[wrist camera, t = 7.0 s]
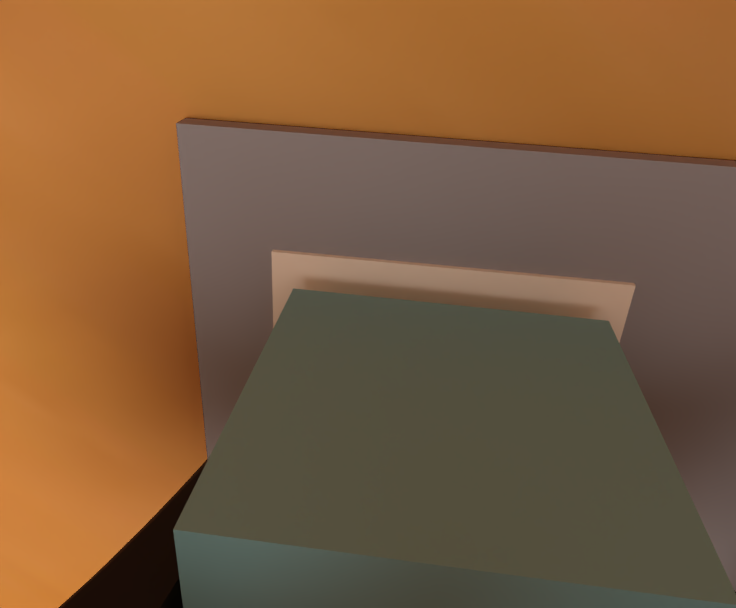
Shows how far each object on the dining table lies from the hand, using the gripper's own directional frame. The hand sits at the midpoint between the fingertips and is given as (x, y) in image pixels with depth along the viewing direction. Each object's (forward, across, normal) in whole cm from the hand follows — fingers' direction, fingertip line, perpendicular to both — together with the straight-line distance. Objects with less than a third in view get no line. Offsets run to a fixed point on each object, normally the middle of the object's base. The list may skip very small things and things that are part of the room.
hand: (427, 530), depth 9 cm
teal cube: (+2, 0, 0) cm, 2 cm away
